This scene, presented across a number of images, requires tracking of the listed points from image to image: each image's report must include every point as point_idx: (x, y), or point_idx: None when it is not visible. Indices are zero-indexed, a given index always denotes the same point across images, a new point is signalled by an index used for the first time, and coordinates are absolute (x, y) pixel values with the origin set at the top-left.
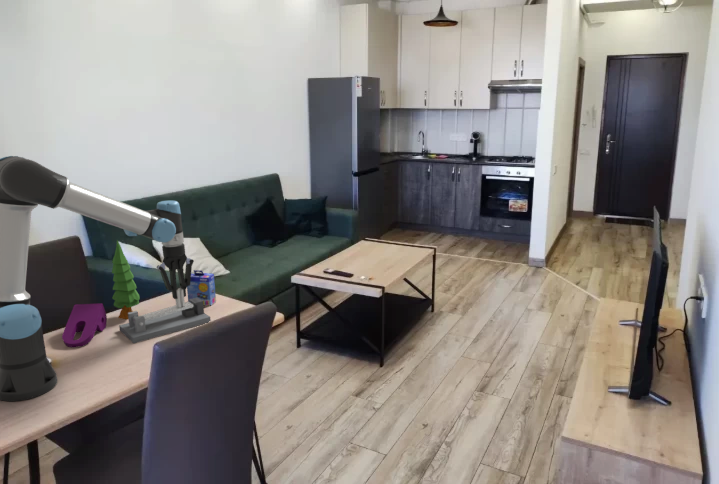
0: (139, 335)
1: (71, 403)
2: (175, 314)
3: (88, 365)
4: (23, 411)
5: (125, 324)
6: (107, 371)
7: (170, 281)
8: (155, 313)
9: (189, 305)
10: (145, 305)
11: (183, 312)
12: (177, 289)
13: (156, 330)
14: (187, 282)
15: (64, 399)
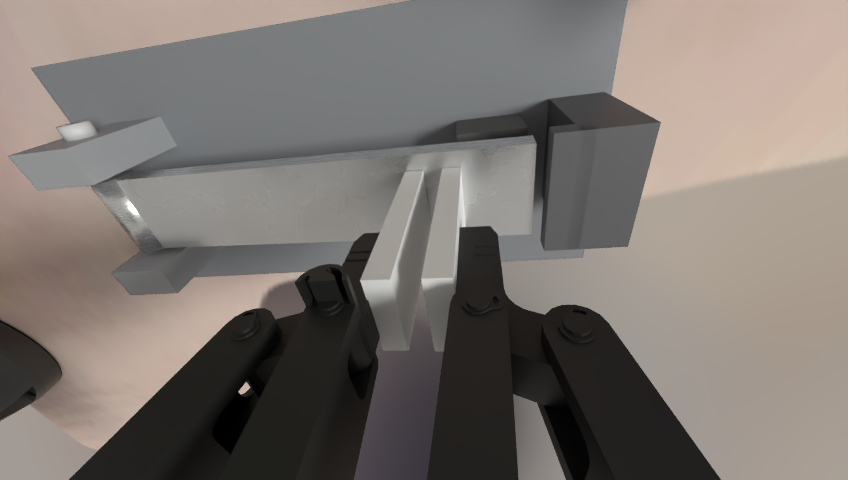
0: (208, 271)
1: None
2: (415, 88)
3: (95, 323)
4: (55, 407)
5: (73, 78)
6: (169, 371)
7: (250, 422)
8: (243, 211)
9: (498, 234)
10: None
11: None
12: (399, 315)
13: (282, 263)
14: (552, 436)
15: (117, 411)
